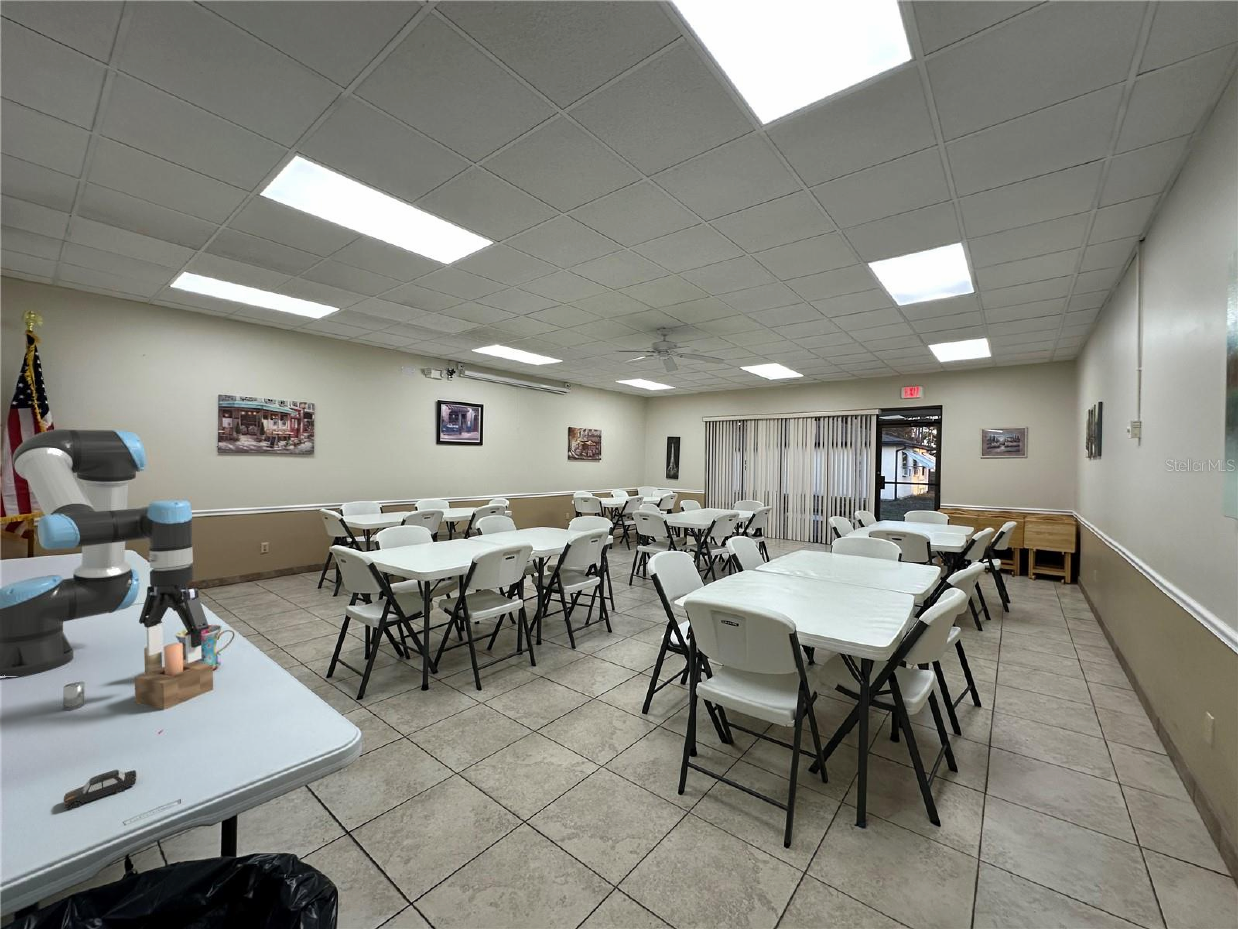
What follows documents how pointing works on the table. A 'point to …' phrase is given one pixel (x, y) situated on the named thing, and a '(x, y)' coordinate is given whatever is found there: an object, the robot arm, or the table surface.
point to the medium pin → (152, 661)
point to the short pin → (73, 696)
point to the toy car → (100, 787)
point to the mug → (206, 644)
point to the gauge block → (173, 685)
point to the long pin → (173, 658)
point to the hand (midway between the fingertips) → (174, 657)
